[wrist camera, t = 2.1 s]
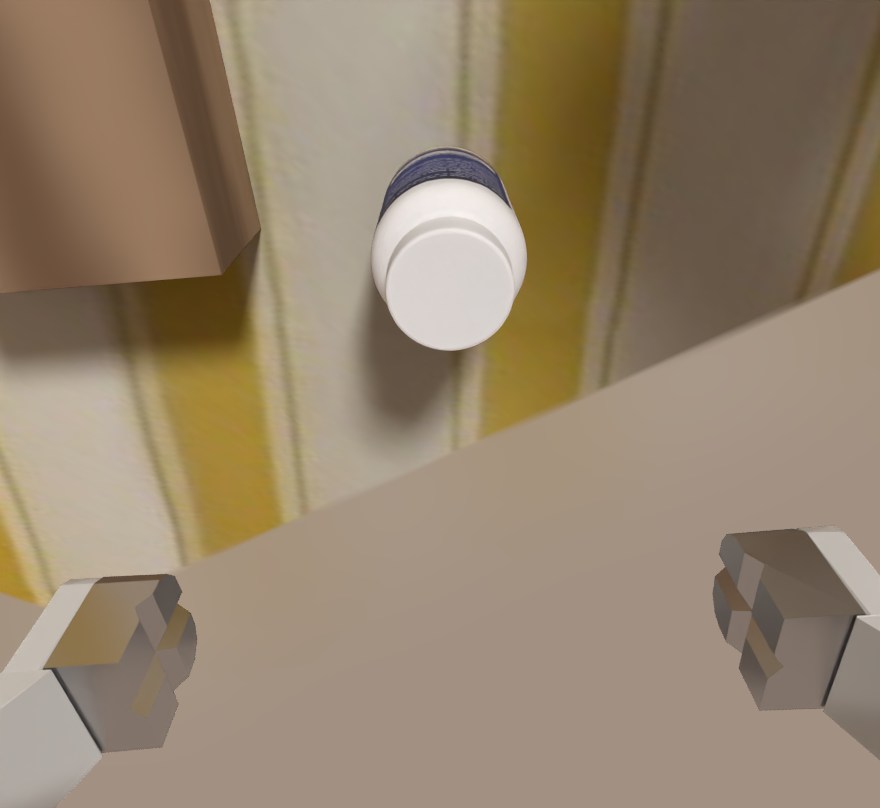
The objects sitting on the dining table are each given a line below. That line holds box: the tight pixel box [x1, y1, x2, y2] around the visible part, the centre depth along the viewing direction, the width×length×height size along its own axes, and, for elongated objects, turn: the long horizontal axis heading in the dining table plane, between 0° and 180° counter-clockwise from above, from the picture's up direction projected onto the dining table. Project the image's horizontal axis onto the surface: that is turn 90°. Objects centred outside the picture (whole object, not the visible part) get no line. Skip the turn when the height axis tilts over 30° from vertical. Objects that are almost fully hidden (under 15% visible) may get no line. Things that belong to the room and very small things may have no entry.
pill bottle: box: [371, 146, 527, 351], centre depth 24 cm, size 5×5×10 cm
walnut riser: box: [0, 0, 261, 293], centre depth 23 cm, size 12×12×6 cm
